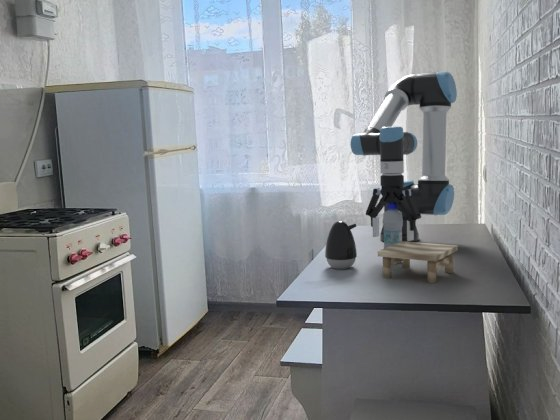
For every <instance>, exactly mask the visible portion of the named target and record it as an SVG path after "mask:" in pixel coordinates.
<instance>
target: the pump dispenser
mask: <svg viewBox="0 0 560 420" xmlns="http://www.w3.org/2000/svg"><path fill="white" fill-rule="evenodd" d="M355 228H357V223H353V224H350V225H349V224H348V223H346V222H345V221H343V220H338V221H335V222H334V223H333V224H332V226H331V228H330V229H329V232H328V235H327V238H326V243H325V252H324V257H325V258H326V261H327V264H328V265H329V267H331V268H333V269H335V270H347V269H349V268H351V267H352V266H353V265H354V264H355V262H356V260H357V259H356V258H357V257H358V252H357V245H356V241H355V238H354V235H353V232H352V230H353V229H355Z"/></svg>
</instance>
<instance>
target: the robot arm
mask: <svg viewBox="0 0 560 420" xmlns="http://www.w3.org/2000/svg"><path fill="white" fill-rule="evenodd" d="M457 92H458V91H457V86H456V80H455V79H454V76H453V75H452V73H450V72H448V71H435V72H434V71H433V72H424V73H413V74H409V75H406V76H403V77H402V78H399V80H396V82H395V83H393V84H392V85H391V86H390V87H389V88H388V90H387V91H386V92H385V95H384V98H383V99H384V101H382V103H381V105H380V107H379V108H378V110H377V111H376V112H375V114H374V116H373V118H372V119H371V120H370V121H369V123H368V125H367V126H366V127H365V129H364V131H363V132H362V133H360V132H359V133H356V134H353V135H352V136H351V138H350V149H351V152H352V154H354V155H355V156H363V157H364V156H379V158H380V160H379V161H380V162H379V165H380V166H379V168H380V170H379V171H380V172H379V173H380V174H381V175H380V178H379V179H380V186H381V188H380V187H376V188H373V190H372V195H371V198H370V200H369V203H368V206H367V208H366V211H365V215H366V216H369V217H370V226H371V228H372V238H378V237H379V239H380V241H381V242H384V227H383V226H382V228H381V231H380V217H379V214H380V212H381V211H382V210H383V211H384V212H385V211H387V210H388V209H387V205H388V203H397V205H398V209H397V210H398V211H400V212H402V218H403V226H402V241H405V242H418V241H419V240H420V233H419V230H418V228H417V225H416V223H417V222H416V221H417V220H419V219H421V218H422V215H426V216H429V215H430V216H445V215H447V214H448V213H450V211H451V210H452V207H453V204H454V199H455V191H454V190H455V187H454V185H453V184H450V179H449V178H448V177H447V176H446V155H447V154H446V152H447V151H446V149H447V147H446V146H447V114H448V112H449V111H450V110H451V109H452V108H451V107H452V104H453V103H455V102H456V101H457ZM413 105H419V110H420V111H421V112H422V115H423V117H422V118H423V119H422V120H423V122H422V124H423V125H422V164H421V165H422V166H421V167H422V168H421V169H422V171H421V176H420V177H419V178H418V179H417V184H415V182H414V180H405V179H404V178H405V176H404V175H403V174H404V173H405V172H404V171H405V169H404V168H405V166H404V163H405V162H404V161H405V160H404V155H405V156H409V155H410V154H412V153H414V152H415V151H416V149H417V148H418V139H417V137H416V136H415V135H414V133H412V132H408V131H404V128H403V126H393V125H394V124H395V123H396V120H397V119H398V117H399V115H400V114H401V112H402V111H404V110H406V109H407V107H409V106H413ZM380 196H381V198H380ZM378 201H379V202H378ZM384 212H383V213H384Z"/></svg>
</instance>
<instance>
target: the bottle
mask: <svg viewBox="0 0 560 420" xmlns="http://www.w3.org/2000/svg"><path fill="white" fill-rule="evenodd" d="M387 209H388V210H387V211H385V212H383V215H382V227H384V241H383V244H384V245H383V249H385V248H387V247H390V246H392V245H395V244H397V243H400V242H402V226H403V218H402V212H400V211H398V210H397V209H398V205H397V203H388V205H387Z"/></svg>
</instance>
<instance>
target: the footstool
mask: <svg viewBox="0 0 560 420" xmlns="http://www.w3.org/2000/svg"><path fill="white" fill-rule="evenodd" d="M458 247H459V246H458V245H457V244H454V245H453V244H441V243H429V242H418V241H414V242H405V241H402V242H400V243H397V244H395V245H392V246H390V247H387V248H385V249H384V248H383V249H380V250H377V257H381V258H382V278H384V279H390V278H392V266H394V265H397V264H400V263H401V264H402V265H401V268H403V269H410V268H411V260H414V261H422V262H423V261H425V262H426V263H427V265H426V266H427V283H429V284H436V283H437V271H438V270H440V269H441V268H444V272H445V273H446V272H447V273H448V274H451V273H452V274H453V273H454V253H456V252H458V251H459V249H458Z"/></svg>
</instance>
